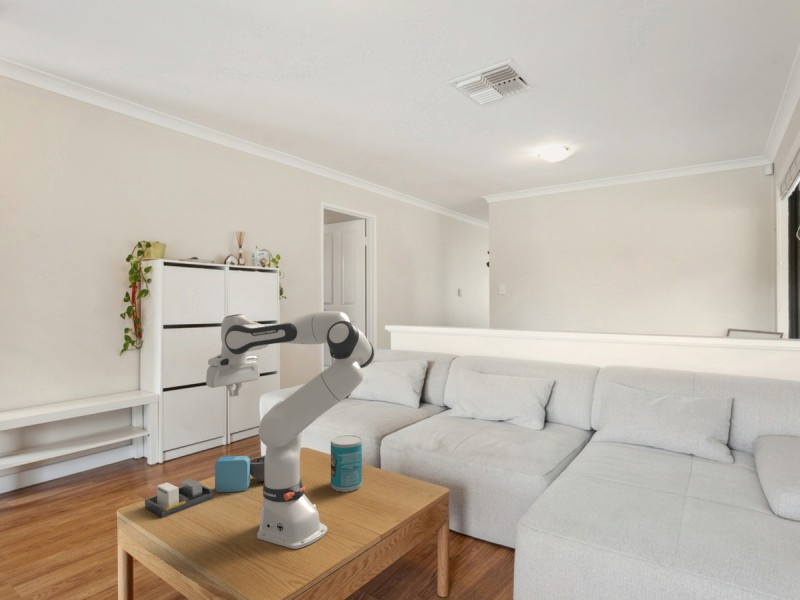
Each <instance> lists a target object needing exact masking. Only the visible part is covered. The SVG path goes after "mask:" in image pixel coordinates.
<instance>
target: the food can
mask: <svg viewBox="0 0 800 600" xmlns="http://www.w3.org/2000/svg"><path fill="white" fill-rule="evenodd" d="M362 441H363V440H362V438H361V436H357V435H352V434H346V435H345V434H343V435H337V436H334V437H333V438H331V440H330V487H331V489H332V490H333V489H334V491H335V490H336V491H335V492H339V491H342V492H341V493H349V492H348V491H351V492H354V490H355V491H357V490H359V489H360V488H361V487H362V484H363V464H362V463H363V462H362V461H363V453H362V452H363V450H362V449H363V448H362V446H363V443H362ZM358 488H359V489H358ZM356 489H357V490H356Z"/></svg>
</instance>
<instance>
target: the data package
mask: <svg viewBox="0 0 800 600" xmlns="http://www.w3.org/2000/svg"><path fill="white" fill-rule="evenodd" d="M250 460H251V459H250V457H249V456H247V455H238V456H237V455H236V456H234V455H232V456H220V457H219V458H218V459H217V460H216V461H215V464H214V490H215V491H216V493H231V492H234V493H235V492H245V491H247V490H248V489H249V487H250V484H251V474H250Z"/></svg>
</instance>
